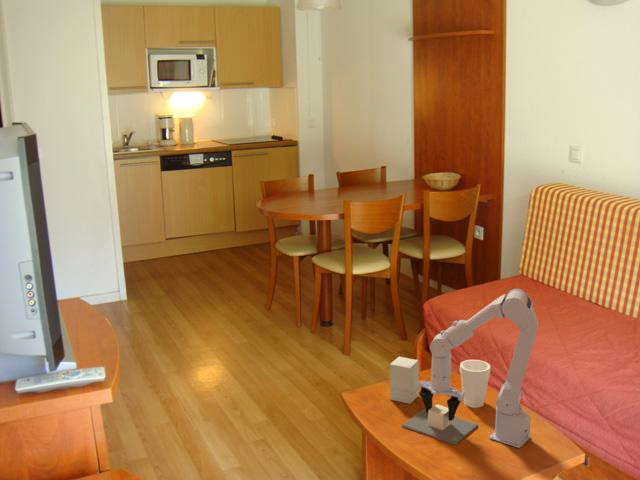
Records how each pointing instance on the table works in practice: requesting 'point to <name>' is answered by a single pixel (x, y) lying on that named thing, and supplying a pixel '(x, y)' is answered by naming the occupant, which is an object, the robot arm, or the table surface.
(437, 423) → the cream cube
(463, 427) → the charcoal mat
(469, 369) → the foam cup
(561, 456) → the table surface
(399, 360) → the supplement box
